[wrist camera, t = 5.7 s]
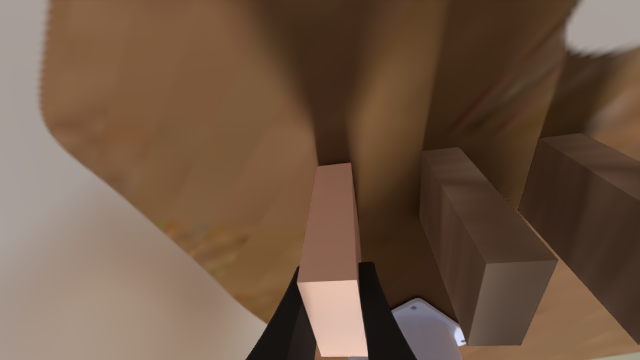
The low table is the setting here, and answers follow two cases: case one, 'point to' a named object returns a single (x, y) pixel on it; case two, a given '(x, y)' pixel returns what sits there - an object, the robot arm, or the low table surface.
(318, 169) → the terracotta domino
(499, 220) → the walnut domino
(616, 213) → the walnut domino
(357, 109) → the low table surface
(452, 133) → the low table surface
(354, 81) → the low table surface
